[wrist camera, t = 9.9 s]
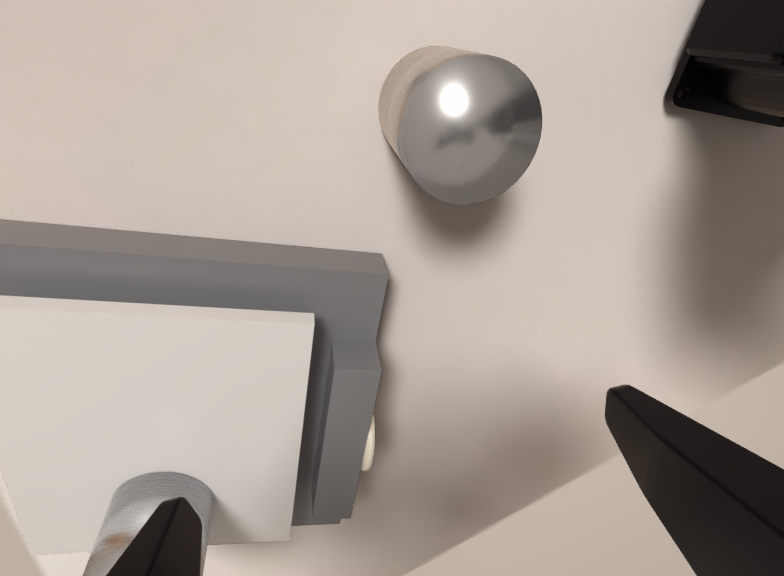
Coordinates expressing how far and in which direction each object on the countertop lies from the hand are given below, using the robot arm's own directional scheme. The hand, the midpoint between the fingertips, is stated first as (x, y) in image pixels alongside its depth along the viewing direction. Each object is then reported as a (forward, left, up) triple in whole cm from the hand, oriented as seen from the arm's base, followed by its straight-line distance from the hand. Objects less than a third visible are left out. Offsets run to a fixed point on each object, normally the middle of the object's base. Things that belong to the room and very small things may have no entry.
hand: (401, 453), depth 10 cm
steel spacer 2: (-3, -5, -12) cm, 14 cm away
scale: (+6, +10, -12) cm, 17 cm away
